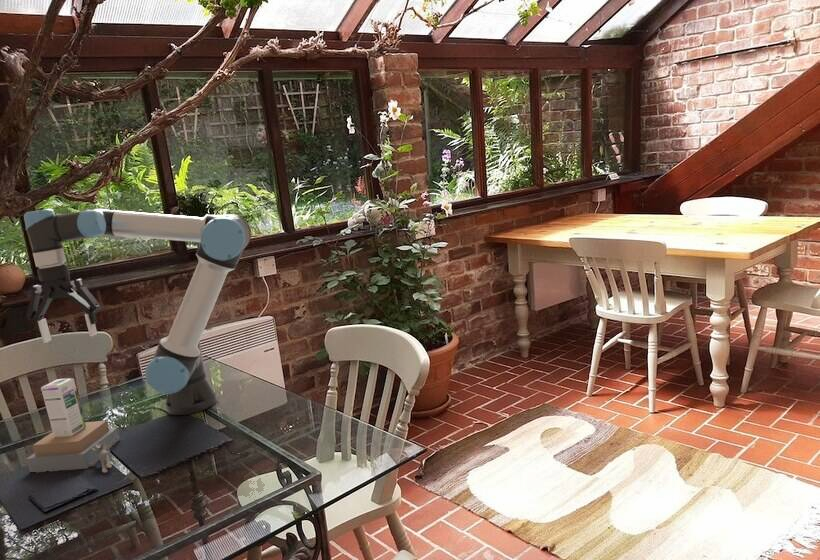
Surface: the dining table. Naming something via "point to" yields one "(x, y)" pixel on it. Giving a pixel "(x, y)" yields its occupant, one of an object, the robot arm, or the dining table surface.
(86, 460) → the display podium
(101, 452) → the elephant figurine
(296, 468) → the dining table surface
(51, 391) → the syrup box
